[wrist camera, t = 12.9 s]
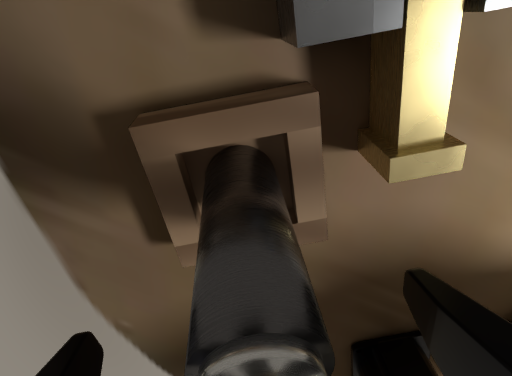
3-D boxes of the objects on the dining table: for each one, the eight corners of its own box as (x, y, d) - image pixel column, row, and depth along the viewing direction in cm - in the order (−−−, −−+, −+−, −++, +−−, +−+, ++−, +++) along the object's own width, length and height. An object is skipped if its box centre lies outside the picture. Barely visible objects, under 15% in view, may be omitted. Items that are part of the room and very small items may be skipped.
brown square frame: (318, 218, 19) (328, 240, 17) (186, 243, 19) (182, 267, 17) (307, 81, 15) (318, 91, 13) (139, 114, 15) (128, 128, 13)
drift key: (417, 139, 17) (461, 169, 14) (357, 150, 17) (388, 183, 14) (439, -76, 12) (513, -106, 9) (357, -60, 12) (404, -84, 9)
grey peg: (279, 200, 17) (344, 423, 8) (214, 212, 17) (204, 449, 8) (269, 138, 15) (341, 336, 6) (197, 152, 15) (158, 370, 6)
